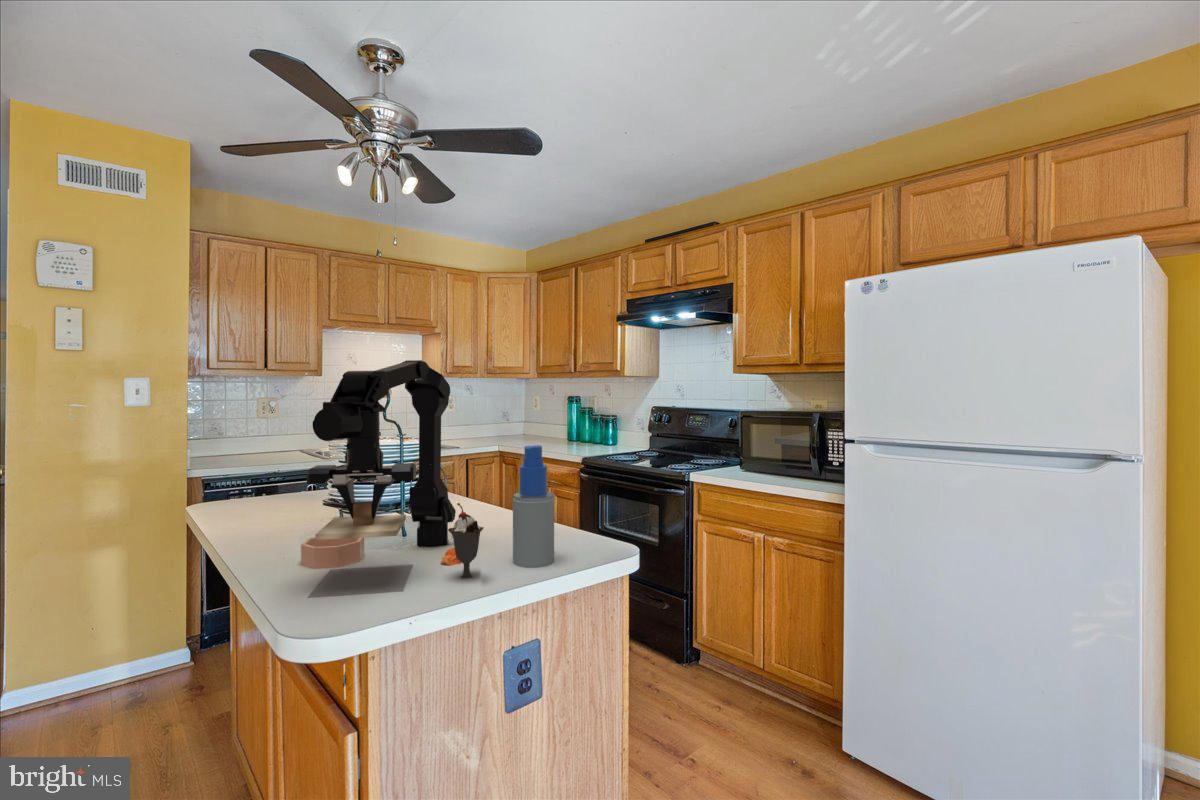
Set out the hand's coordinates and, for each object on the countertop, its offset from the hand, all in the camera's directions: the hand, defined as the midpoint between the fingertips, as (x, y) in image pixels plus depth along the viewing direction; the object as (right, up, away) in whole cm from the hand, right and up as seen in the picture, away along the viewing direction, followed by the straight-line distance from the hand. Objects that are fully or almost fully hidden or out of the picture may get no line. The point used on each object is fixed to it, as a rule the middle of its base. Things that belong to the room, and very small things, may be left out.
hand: (363, 518), depth 110 cm
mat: (0, -13, 0) cm, 13 cm away
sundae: (+19, -13, +2) cm, 23 cm away
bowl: (-12, -12, +13) cm, 22 cm away
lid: (0, -2, 0) cm, 2 cm away
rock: (+14, -13, +13) cm, 23 cm away
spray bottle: (+31, -13, +15) cm, 36 cm away
